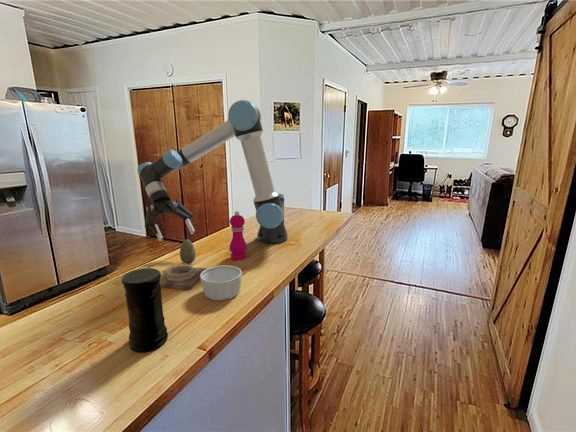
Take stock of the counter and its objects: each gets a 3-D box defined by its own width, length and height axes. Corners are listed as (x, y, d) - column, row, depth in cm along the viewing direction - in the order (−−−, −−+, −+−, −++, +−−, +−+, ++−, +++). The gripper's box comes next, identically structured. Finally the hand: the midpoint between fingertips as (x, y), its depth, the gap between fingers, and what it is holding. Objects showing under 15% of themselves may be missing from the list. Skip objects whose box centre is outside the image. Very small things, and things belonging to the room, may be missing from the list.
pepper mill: (243, 261, 128) (242, 214, 123) (227, 260, 129) (224, 213, 124) (249, 255, 135) (248, 209, 130) (233, 253, 136) (231, 209, 131)
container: (137, 331, 82) (129, 267, 78) (172, 329, 83) (166, 266, 79) (122, 354, 74) (112, 284, 69) (162, 352, 74) (154, 282, 70)
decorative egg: (181, 267, 122) (179, 242, 120) (179, 261, 128) (177, 238, 125) (197, 264, 125) (195, 240, 122) (194, 259, 130) (193, 236, 128)
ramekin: (198, 287, 106) (197, 268, 104) (236, 280, 111) (236, 262, 110) (204, 306, 94) (203, 285, 93) (247, 298, 100) (246, 277, 98)
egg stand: (207, 272, 118) (206, 263, 117) (190, 289, 104) (189, 280, 104) (172, 269, 120) (171, 261, 119) (151, 286, 107) (150, 277, 106)
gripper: (182, 196, 145) (202, 234, 138) (125, 204, 127) (144, 248, 121) (187, 186, 140) (207, 225, 133) (128, 192, 122) (148, 238, 116)
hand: (177, 236), depth 127 cm, fingers open, 13 cm apart
